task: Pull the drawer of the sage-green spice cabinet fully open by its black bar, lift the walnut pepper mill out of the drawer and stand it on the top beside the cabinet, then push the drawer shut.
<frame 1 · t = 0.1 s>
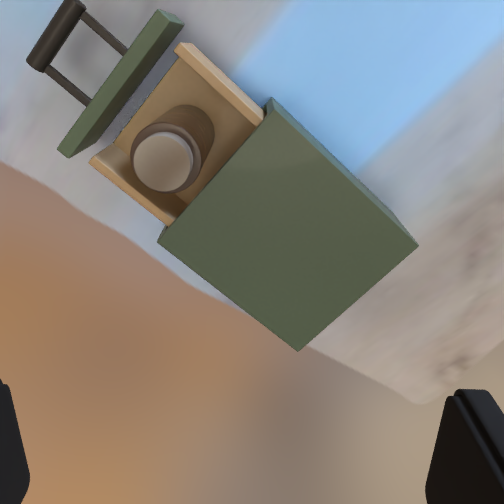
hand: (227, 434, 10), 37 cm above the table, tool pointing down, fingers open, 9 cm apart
pepper mill: (187, 133, 42), point 2 cm above the table, touching drawer
drawer: (163, 120, 40), point 4 cm above the table, slide at 9.5 cm, touching pepper mill
cabinet: (282, 210, 47), on the table
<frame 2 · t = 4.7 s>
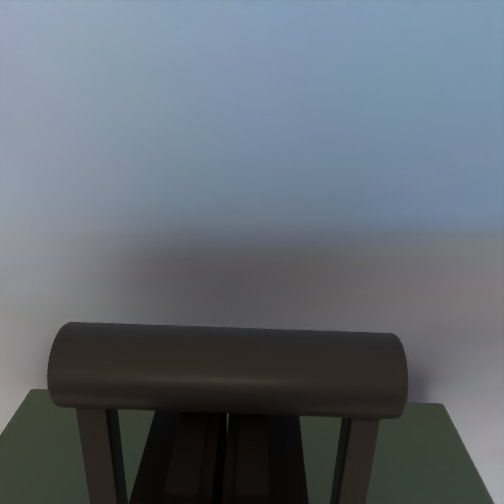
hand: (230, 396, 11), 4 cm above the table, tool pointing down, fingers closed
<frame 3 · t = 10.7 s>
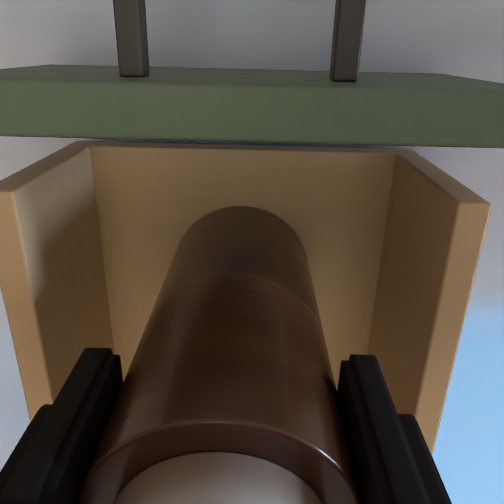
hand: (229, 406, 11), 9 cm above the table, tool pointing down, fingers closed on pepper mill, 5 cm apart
pepper mill: (241, 268, 18), point 2 cm above the table, touching drawer, gripper
drawer: (239, 239, 15), point 4 cm above the table, slide at 12.5 cm, touching pepper mill
when the fingers open (7 cm above the table, at t = 17.5 s): pepper mill stays where it is, on the table.
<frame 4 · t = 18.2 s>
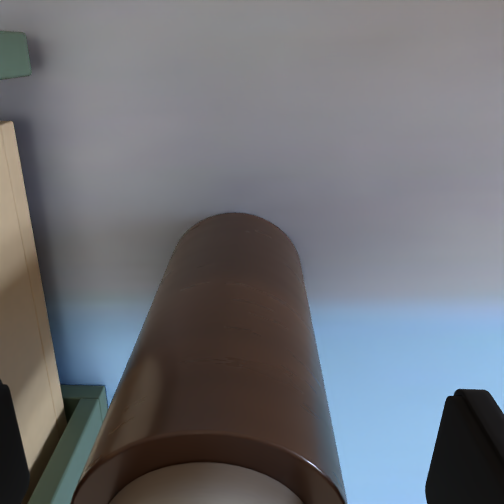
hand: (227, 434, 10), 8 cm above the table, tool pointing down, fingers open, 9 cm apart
pepper mill: (235, 274, 18), on the table
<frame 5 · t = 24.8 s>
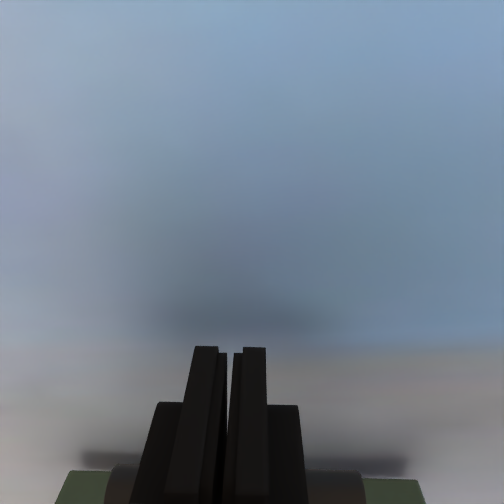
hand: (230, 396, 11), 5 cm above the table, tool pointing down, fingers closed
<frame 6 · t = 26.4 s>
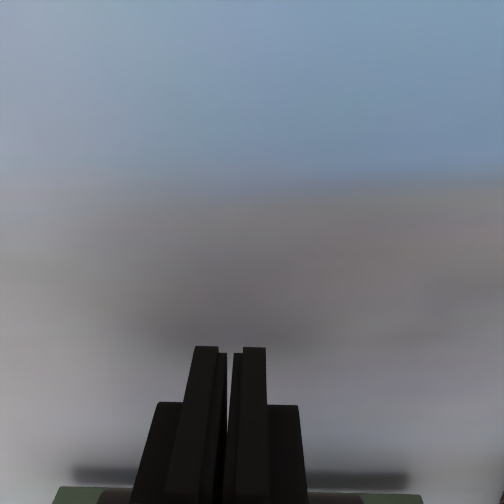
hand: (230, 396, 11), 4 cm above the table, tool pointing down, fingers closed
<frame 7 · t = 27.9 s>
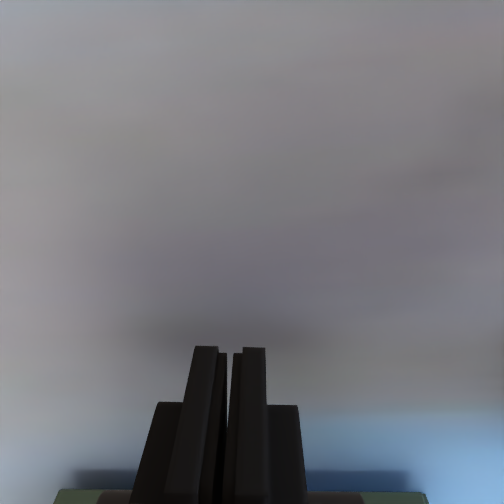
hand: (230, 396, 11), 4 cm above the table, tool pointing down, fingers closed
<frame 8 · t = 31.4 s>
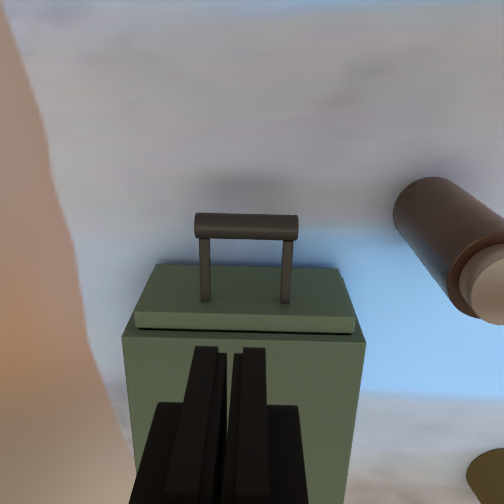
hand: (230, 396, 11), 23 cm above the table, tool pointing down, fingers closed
pepper mill: (428, 210, 33), on the table
drawer: (244, 348, 33), point 4 cm above the table, slide at 0.0 cm, touching cabinet
cabinet: (245, 363, 39), on the table
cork: (498, 470, 44), on the table
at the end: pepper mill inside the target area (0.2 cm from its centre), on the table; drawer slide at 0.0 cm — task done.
